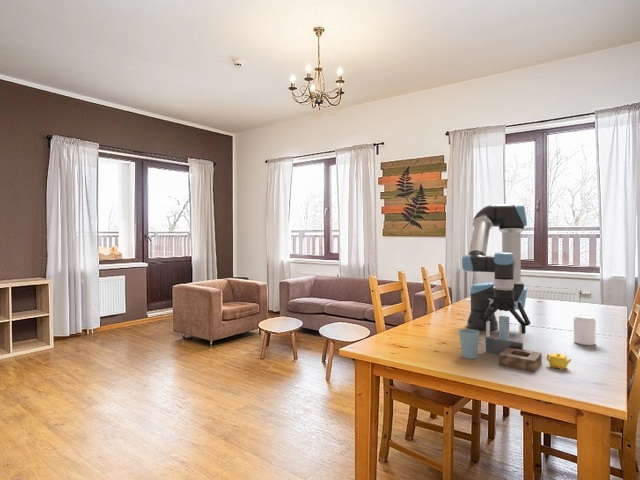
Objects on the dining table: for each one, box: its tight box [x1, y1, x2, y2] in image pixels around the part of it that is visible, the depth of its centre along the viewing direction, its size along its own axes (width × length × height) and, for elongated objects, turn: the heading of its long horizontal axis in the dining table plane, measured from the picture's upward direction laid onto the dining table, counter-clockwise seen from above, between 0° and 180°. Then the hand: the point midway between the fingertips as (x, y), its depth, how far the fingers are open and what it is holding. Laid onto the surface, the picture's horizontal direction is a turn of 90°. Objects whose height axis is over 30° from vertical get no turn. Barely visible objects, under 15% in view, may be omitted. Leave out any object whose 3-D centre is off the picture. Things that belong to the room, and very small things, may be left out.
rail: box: [485, 337, 524, 355], centre depth 160 cm, size 14×1×6 cm, turn 50°
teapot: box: [546, 353, 572, 371], centre depth 145 cm, size 8×6×5 cm
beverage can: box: [573, 314, 597, 346], centre depth 175 cm, size 8×8×12 cm
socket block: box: [498, 347, 543, 373], centre depth 149 cm, size 12×12×4 cm
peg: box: [498, 315, 510, 341], centre depth 168 cm, size 4×4×14 cm
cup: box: [459, 328, 481, 360], centre depth 159 cm, size 8×8×10 cm
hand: (504, 338), depth 168 cm, fingers open, 12 cm apart
